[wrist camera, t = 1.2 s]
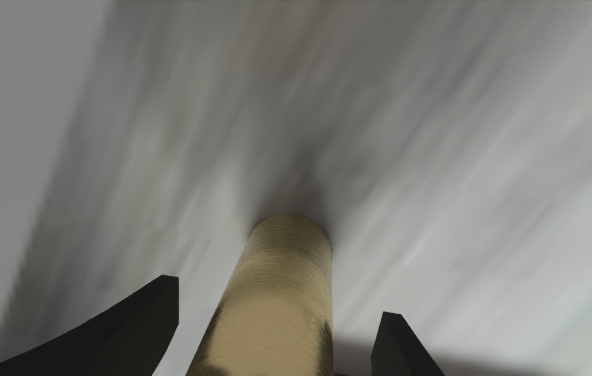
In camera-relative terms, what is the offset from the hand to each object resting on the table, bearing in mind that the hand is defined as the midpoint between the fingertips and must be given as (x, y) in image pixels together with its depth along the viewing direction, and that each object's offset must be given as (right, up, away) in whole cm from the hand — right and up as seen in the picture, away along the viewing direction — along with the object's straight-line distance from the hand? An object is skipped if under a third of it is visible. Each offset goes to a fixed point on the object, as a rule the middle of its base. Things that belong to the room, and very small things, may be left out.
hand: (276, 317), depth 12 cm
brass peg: (0, +1, +4) cm, 4 cm away
